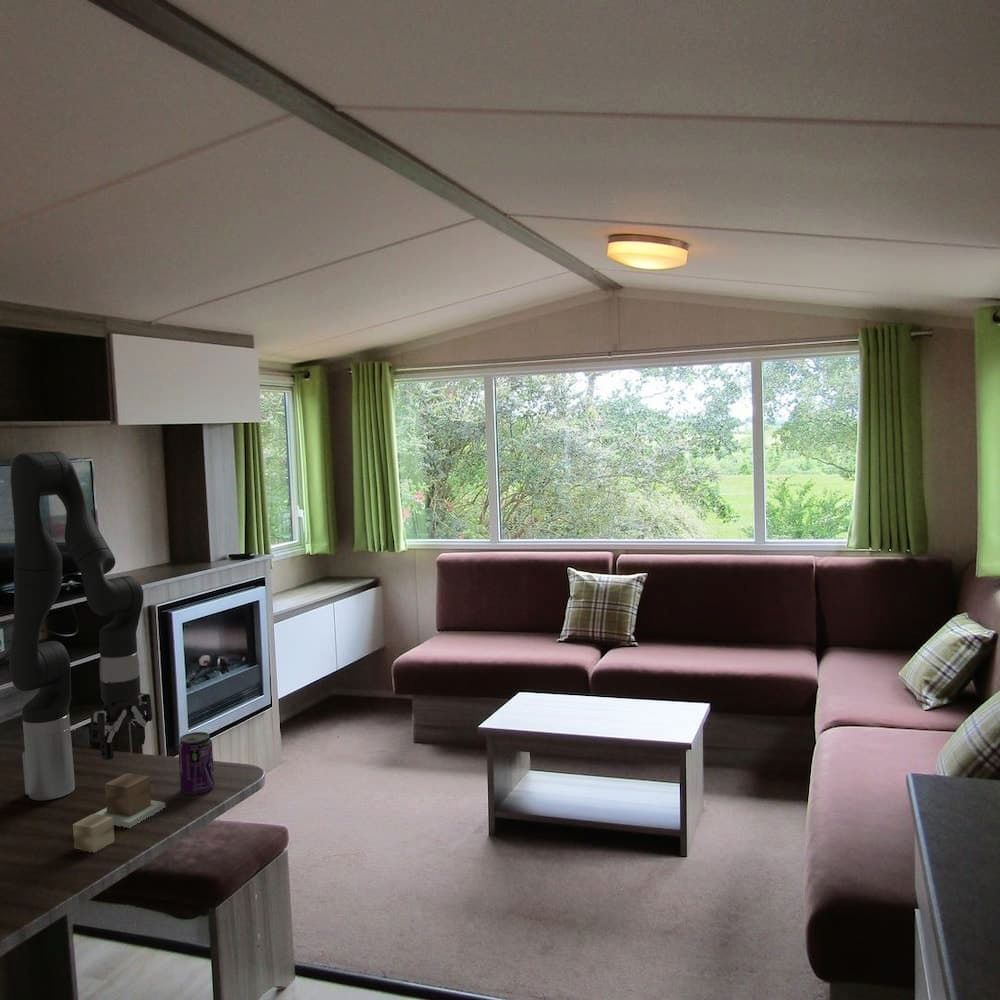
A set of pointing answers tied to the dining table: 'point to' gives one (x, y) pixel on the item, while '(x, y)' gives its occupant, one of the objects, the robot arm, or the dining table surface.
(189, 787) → the beverage can
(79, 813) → the dining table surface
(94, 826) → the beech cube
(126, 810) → the walnut cube
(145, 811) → the plate
